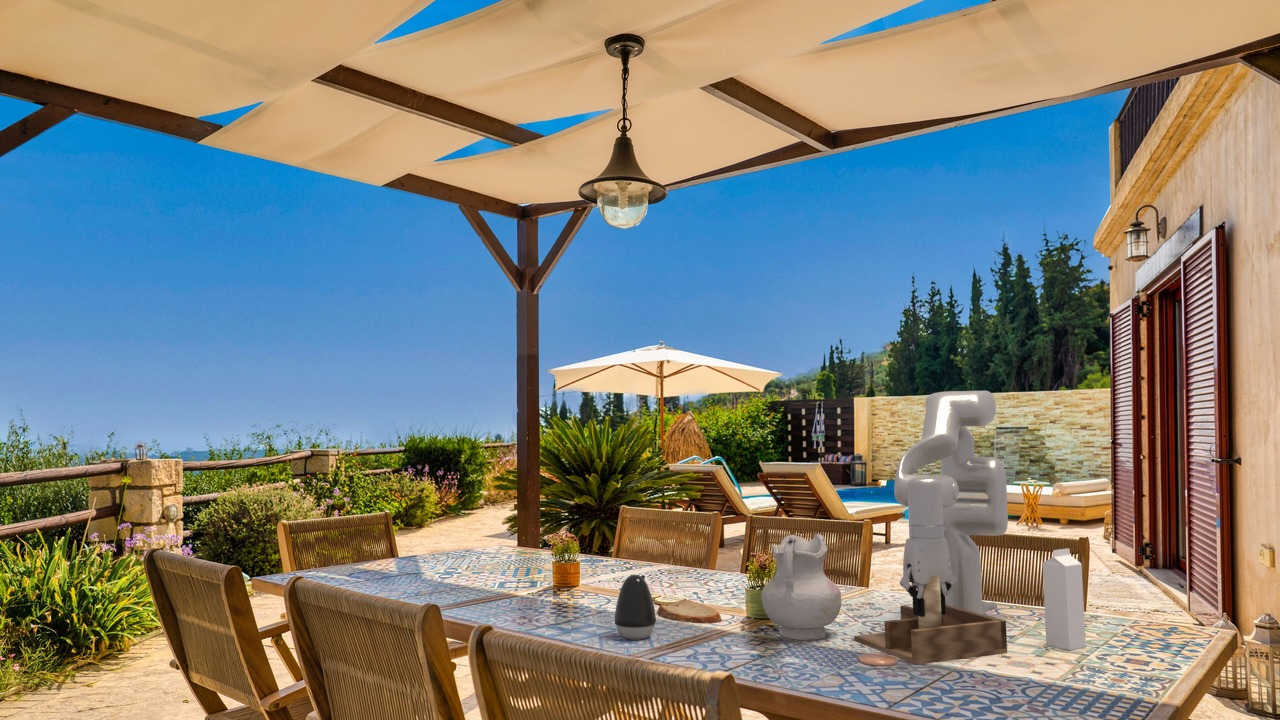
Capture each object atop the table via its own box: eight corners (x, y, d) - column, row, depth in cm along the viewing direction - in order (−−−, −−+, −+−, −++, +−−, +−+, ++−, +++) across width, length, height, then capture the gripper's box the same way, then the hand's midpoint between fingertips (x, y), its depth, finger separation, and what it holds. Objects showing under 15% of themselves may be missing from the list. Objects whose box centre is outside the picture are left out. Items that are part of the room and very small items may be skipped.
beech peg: (932, 639, 202) (930, 572, 203) (947, 644, 197) (944, 575, 198) (914, 641, 200) (911, 574, 201) (928, 646, 195) (926, 577, 196)
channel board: (938, 630, 221) (937, 602, 221) (1007, 652, 199) (1005, 621, 199) (854, 640, 212) (853, 610, 213) (916, 664, 190) (915, 631, 191)
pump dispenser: (663, 634, 221) (662, 572, 222) (645, 644, 212) (644, 579, 213) (626, 631, 225) (625, 570, 226) (607, 640, 216) (607, 576, 217)
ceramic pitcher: (840, 652, 205) (845, 544, 207) (755, 643, 209) (761, 536, 211) (838, 632, 226) (843, 533, 228) (761, 623, 230) (767, 526, 232)
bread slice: (722, 624, 232) (721, 610, 233) (653, 624, 234) (653, 609, 234) (722, 610, 250) (722, 597, 250) (659, 610, 252) (659, 596, 252)
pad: (882, 655, 198) (882, 652, 198) (904, 663, 191) (904, 660, 191) (851, 658, 196) (851, 655, 196) (872, 667, 188) (872, 664, 188)
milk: (1086, 647, 203) (1082, 549, 204) (1069, 650, 200) (1065, 551, 201) (1062, 641, 208) (1058, 546, 210) (1045, 645, 205) (1041, 548, 207)
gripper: (946, 528, 207) (949, 608, 205) (884, 532, 201) (887, 614, 199) (968, 532, 200) (971, 614, 198) (905, 536, 194) (908, 621, 192)
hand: (929, 613), depth 199 cm, fingers closed on beech peg, 5 cm apart
